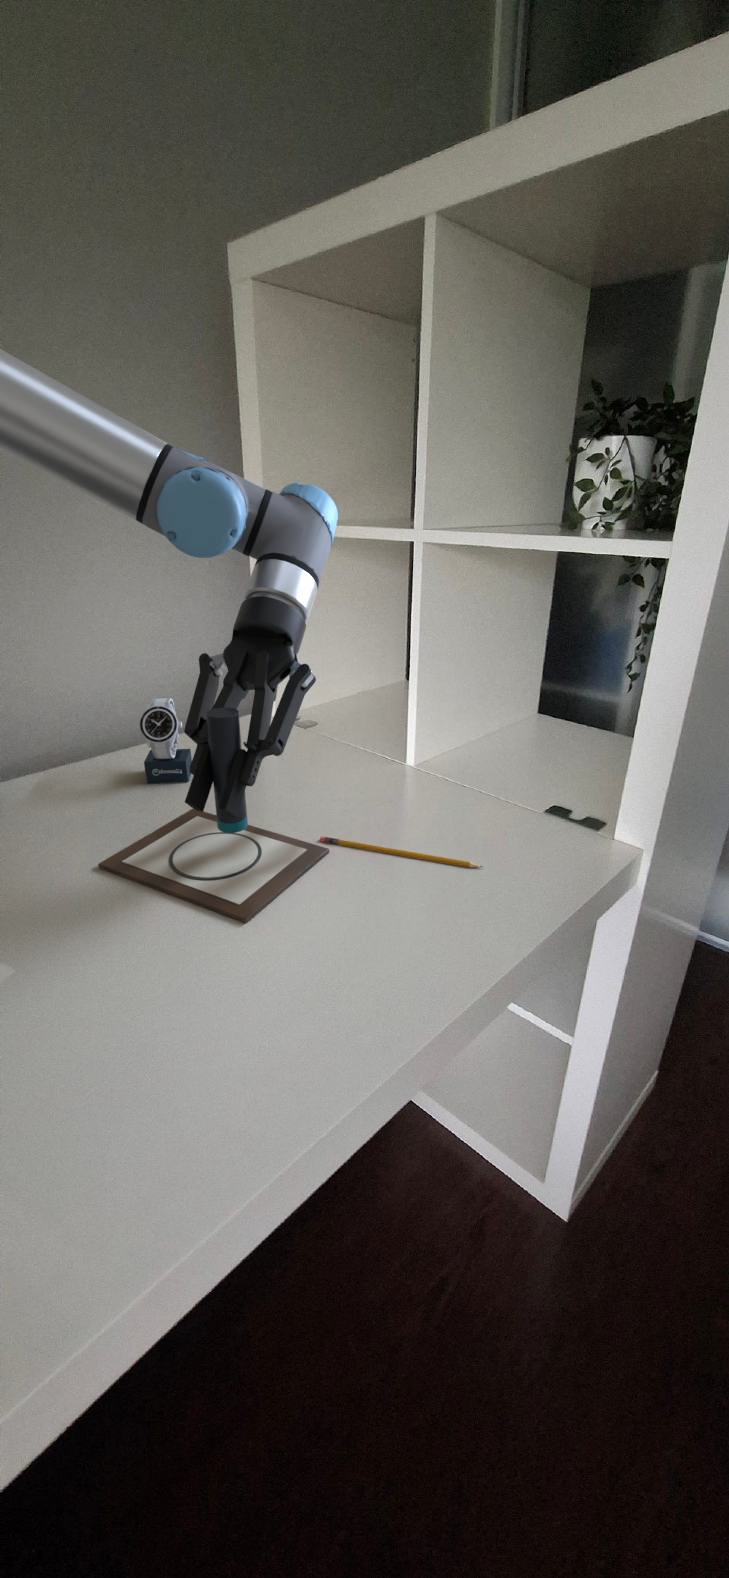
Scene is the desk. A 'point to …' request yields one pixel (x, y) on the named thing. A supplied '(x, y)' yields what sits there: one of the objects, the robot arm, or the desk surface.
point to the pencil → (397, 852)
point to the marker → (225, 762)
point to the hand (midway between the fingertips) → (210, 809)
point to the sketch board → (216, 864)
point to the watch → (164, 744)
